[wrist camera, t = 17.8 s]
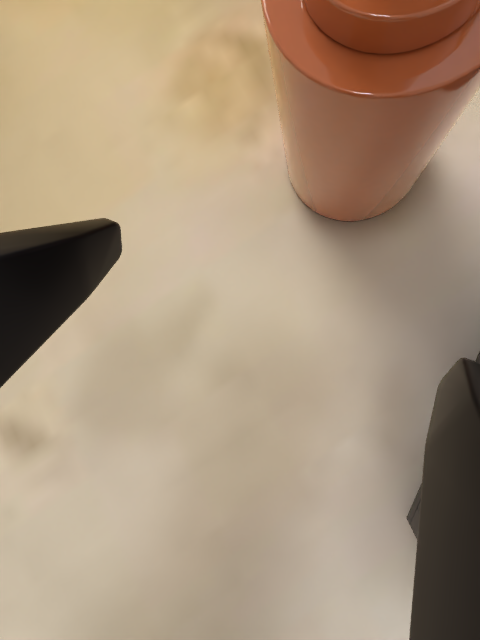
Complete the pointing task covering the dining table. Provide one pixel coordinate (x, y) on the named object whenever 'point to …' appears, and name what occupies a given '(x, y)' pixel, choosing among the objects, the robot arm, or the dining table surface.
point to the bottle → (368, 93)
